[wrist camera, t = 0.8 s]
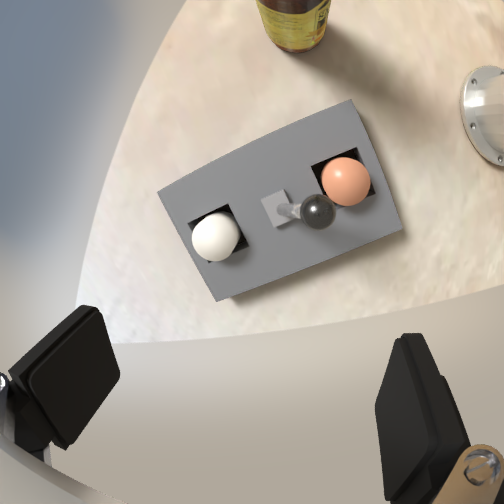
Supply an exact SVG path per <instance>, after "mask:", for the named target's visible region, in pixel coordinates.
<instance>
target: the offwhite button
mask: <svg viewBox="0 0 504 504" xmlns="http://www.w3.org/2000/svg"><path fill="white" fill-rule="evenodd" d="M240 237H241V228H240V226H239V224H238V222H237V220H236V218H235V217H234V216H233V215H232V214H230V213H228V212H225V211H216V212H213V213H211V214H209V215H208V216H207V217H206V218H204V219H203V220H202V221H201V222H200V223H199V224H197V226H196V227H195V228H194V230H193V233H192V243H193V246H194V249H195V250H196V252H197V253H198V254H199V255H200V256H201V257H203V258H204V259H206V260H209V261H221V260H224V259H226V258H227V257H228V256H229V255H230V254H231V253H232V251H233V250H234V248H235V246H236V245H237V243H238V241H239V239H240Z"/></svg>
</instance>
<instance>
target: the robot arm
mask: <svg viewBox="0 0 504 504" xmlns="http://www.w3.org/2000/svg"><path fill="white" fill-rule="evenodd" d="M460 106H461V115H462V120H463V124H464V127H465V130H466V132H467V134H468V137H469V139H470V141H471V142H472V144H473V145H474V147H475V148H476V150H477V151H478V152H479V153H480V154H481V155H482V156H483V157H484V158H485V159H486V160H488V161H490V162H491V163H493V164H496V165H500V166H504V70H503V69H501V68H499V67H496V66H482V67H479V68H477V69H475V70H473V71H472V72H471V73H470V74H469V75H468V76H467V78H466V80H465V81H464V83H463V87H462V90H461V98H460ZM470 125H471V127H470ZM8 372H9V374H10V375H11V377H12V381H9V379H8V377H7V376H6V375H5V374H3V373H1V372H0V504H128V503H125V502H123V501H120V500H117V499H115V498H113V497H110V496H108V495H106V494H103V493H101V492H99V491H97V490H94V489H92V488H90V487H88V486H86V485H84V484H82V483H80V482H78V481H76V480H74V479H72V478H70V477H68V476H66V475H65V474H63V473H61V472H59V471H57V470H56V469H54V468H52V465H51V456H50V448H49V443H50V442H51V441H52V442H53V443H54V445H56V446H58V447H60V448H62V449H64V450H67V448H68V447H69V445H71V444H73V443H74V442H75V441H76V440H77V438H78V436H79V435H80V434H81V432H82V431H83V429H84V428H85V427H86V425H87V424H88V422H89V421H90V419H91V418H92V417H93V415H94V414H95V412H96V411H97V410H98V408H99V407H100V405H101V404H102V402H103V401H104V400H105V398H106V397H107V396H108V394H109V393H110V391H111V390H112V389H113V387H114V386H115V384H116V383H117V382H118V380H119V378H120V370H119V367H118V364H117V361H116V358H115V355H114V352H113V349H112V346H111V342H110V339H109V336H108V333H107V329H106V326H105V322H104V319H103V315H102V314H101V313H100V312H99V310H98V308H96V307H92V306H87V305H81V306H79V307H78V308H77V309H76V310H75V311H74V312H72V313H71V314H70V315H69V316H68V317H67V318H65V319H64V320H63V321H62V322H61V323H60V324H58V325H57V326H56V327H55V328H54V329H53V330H52V331H51V332H49V333H48V334H47V335H46V336H45V337H44V338H43V339H42V340H41V341H39V343H37V344H36V345H35V346H34V347H33V348H32V349H31V350H30V351H29V352H27V353H26V354H25V355H24V356H23V357H22V358H21V359H20V360H19V361H18V362H17V363H16V364H15V365H14V366H12V368H11V369H9V370H8ZM375 415H376V422H377V429H378V436H379V445H380V453H381V462H382V473H383V484H384V496H385V500H386V501H390V503H391V504H504V459H503V456H502V455H501V454H500V452H499V451H498V450H497V449H495V448H493V447H492V446H489V445H485V444H477V445H474V446H471V445H470V442H469V438H468V435H467V433H466V430H465V427H464V424H463V421H462V419H461V416H460V413H459V411H458V408H457V405H456V403H455V401H454V398H453V396H452V393H451V390H450V388H449V385H448V383H447V381H446V379H445V377H444V376H442V375H440V373H439V371H438V368H437V366H436V363H435V361H434V359H433V357H432V354H431V352H430V350H429V348H428V345H427V343H426V341H425V339H424V337H423V335H422V334H421V333H404V334H403V335H402V336H401V338H397V339H396V340H395V342H394V346H393V349H392V353H391V356H390V359H389V363H388V366H387V369H386V372H385V375H384V378H383V382H382V385H381V387H380V390H379V393H378V396H377V399H376V403H375Z"/></svg>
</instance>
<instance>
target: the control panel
mask: <svg viewBox="0 0 504 504" xmlns="http://www.w3.org/2000/svg"><path fill="white" fill-rule="evenodd" d="M352 148H353V151H354V153H355V155H356V158H357V160H358V162H360V163H361V164H362V165H363V166H364V167H365V168H366V169H367V171H368V173H369V176H370V189H369V192H368V194H367V195H366V197H365V198H364V199H363V200H362V201H361V202H359V203H357V204H355V205H351V206H343V205H339V204H337V203H335V204H334V205H335V207H336V218H335V221H334V222H333V224H332V225H331V226H330V227H329V228H327V229H325V230H322V231H315V230H311V229H309V228H308V227H306V226H305V225H304V223H303V222H302V220H301V219H300V218H292V217H284V216H280V215H278V213H277V211H276V208H277V206H278V205H279V204H281V203H299V204H302V202H303V201H304V200H305V199H306V198H307V197H309V196H310V195H313V194H322V195H323V193H322V191H321V189H320V186H319V184H318V182H317V179H316V177H315V175H314V173H313V171H312V168H311V166H312V165H314V164H316V163H319V162H321V161H323V160H326V159H328V158H331V157H333V156H335V155H338V154H340V153H343V152H345V151H348V150H350V149H352ZM157 193H158V195H159V197H160V199H161V201H162V203H163V205H164V207H165V209H166V211H167V213H168V215H169V217H170V218H171V220H172V222H173V224H174V226H175V228H176V230H177V232H178V234H179V235H180V237H181V239H182V241H183V243H184V245H185V247H186V248H187V250H188V252H189V254H190V256H191V258H192V259H193V261H194V263H195V265H196V267H197V269H198V270H199V272H200V274H201V276H202V278H203V279H204V281H205V283H206V285H207V286H208V288H209V290H210V292H211V293H212V295H213V297H214V299H215V300H216V302H218V301H221V300H224V299H226V298H229V297H232V296H234V295H237V294H240V293H243V292H245V291H248V290H251V289H253V288H256V287H259V286H261V285H264V284H266V283H269V282H272V281H274V280H277V279H280V278H282V277H285V276H287V275H290V274H293V273H295V272H298V271H300V270H303V269H305V268H308V267H310V266H313V265H315V264H318V263H321V262H323V261H326V260H328V259H331V258H333V257H336V256H338V255H340V254H343V253H345V252H348V251H350V250H353V249H355V248H358V247H360V246H362V245H365V244H367V243H370V242H372V241H375V240H377V239H379V238H382V237H384V236H386V235H389V234H391V233H394V232H396V231H398V230H401V229H402V225H401V222H400V219H399V216H398V213H397V210H396V207H395V204H394V201H393V198H392V195H391V193H390V190H389V187H388V184H387V182H386V179H385V176H384V174H383V171H382V168H381V166H380V163H379V161H378V158H377V156H376V153H375V151H374V149H373V146H372V144H371V142H370V139H369V137H368V135H367V132H366V130H365V128H364V126H363V123H362V121H361V119H360V117H359V115H358V113H357V110H356V108H355V106H354V104H353V102H352V100H351V99H350V100H348V101H345V102H342V103H340V104H337V105H335V106H332V107H330V108H327V109H325V110H322V111H320V112H317V113H315V114H313V115H310V116H308V117H305V118H303V119H301V120H298V121H296V122H294V123H292V124H289V125H287V126H285V127H283V128H280V129H278V130H276V131H274V132H272V133H269V134H267V135H265V136H263V137H261V138H259V139H257V140H254V141H252V142H250V143H248V144H246V145H244V146H242V147H240V148H238V149H236V150H234V151H232V152H230V153H228V154H226V155H224V156H222V157H220V158H218V159H216V160H214V161H212V162H210V163H209V164H207V165H205V166H203V167H201V168H199V169H197V170H195V171H194V172H192V173H190V174H188V175H186V176H184V177H183V178H181V179H179V180H177V181H175V182H174V183H172V184H170V185H168V186H167V187H165V188H163V189H161V190H160V191H158V192H157ZM225 204H229V206H230V208H231V210H232V212H233V214H234V216H235V218H236V220H237V222H238V224H239V226H240V228H241V230H242V232H243V234H244V236H245V238H246V240H247V241H245V242H243V243H241V244H238V245H236V246H235V248H234V250H233V251H232V253H231V254H230V255H229V256H228V257H227V258H226V259H224V260H221V261H209V260H206V259H204V258H203V257H201V256H200V255H199V254H198V253H197V252H196V250H195V249H194V246H193V243H192V233H193V230H194V228H195V227H196V226H197V224H199V222H198V220H197V218H199V217H201V216H203V215H205V214H207V213H209V212H211V211H213V210H215V209H217V208H219V207H221V206H223V205H225Z"/></svg>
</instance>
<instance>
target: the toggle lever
mask: <svg viewBox="0 0 504 504" xmlns="http://www.w3.org/2000/svg"><path fill="white" fill-rule="evenodd" d="M276 211H277V213H278V215H280V216H284V217H292V218H300V219H301V220H302V222H303V223H304V225H305V226H306V227H308V228H309V229H311V230H315V231H322V230H325V229H327V228H329V227H330V226H331V225H332V224H333V222H334V221H335V218H336V207H335V205H334V203H333V201H332V200H331V199H330V198H329V197H327V196H325V195H322V194H313V195H310V196H309V197H307V198H306V199H305V200H304V201H303V202H302V204H299V203H281V204H279V205H278V206H277V208H276Z"/></svg>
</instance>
